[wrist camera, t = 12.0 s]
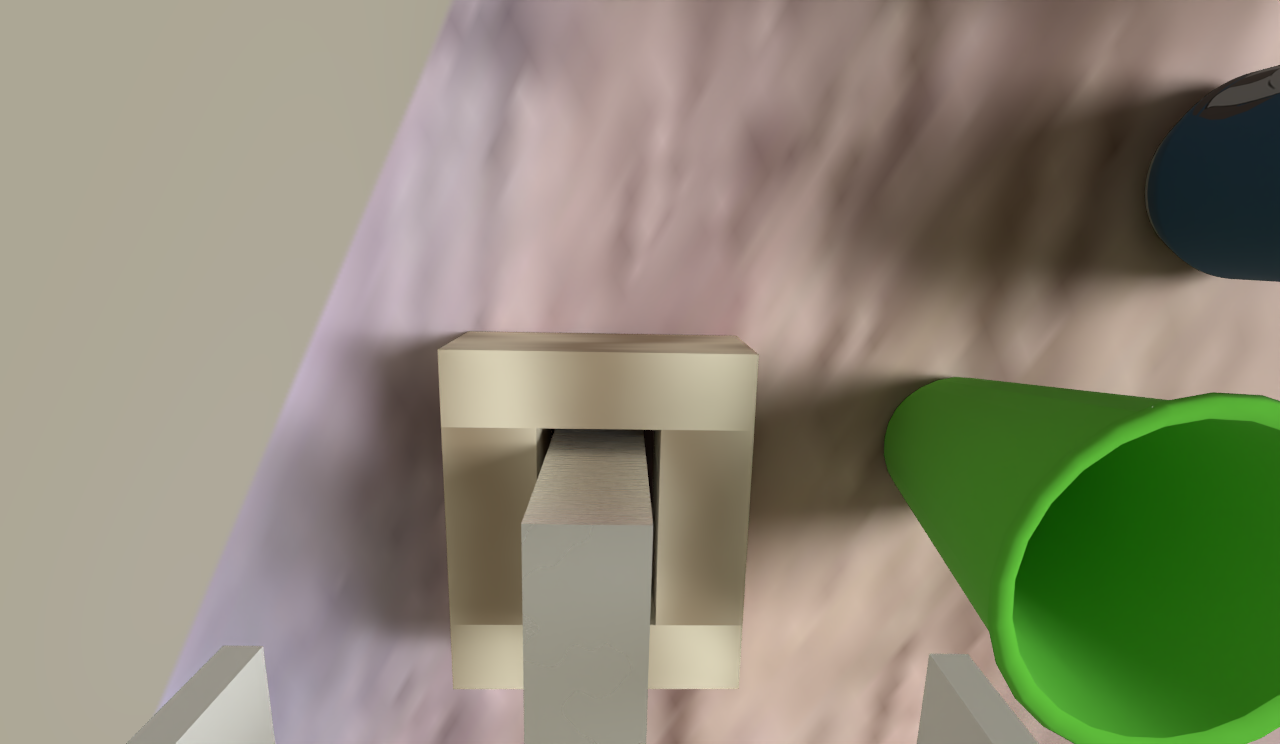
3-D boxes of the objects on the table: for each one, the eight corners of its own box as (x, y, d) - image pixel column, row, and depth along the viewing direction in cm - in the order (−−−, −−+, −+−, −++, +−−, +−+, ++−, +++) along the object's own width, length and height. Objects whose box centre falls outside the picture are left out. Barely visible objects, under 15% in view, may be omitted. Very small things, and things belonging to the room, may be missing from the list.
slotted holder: (736, 335, 24) (758, 354, 20) (721, 621, 26) (738, 688, 22) (468, 331, 23) (437, 349, 19) (479, 621, 26) (453, 689, 22)
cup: (860, 571, 26) (1031, 810, 15) (807, 365, 24) (959, 467, 13) (1074, 509, 25) (1407, 706, 15) (1037, 295, 24) (1388, 340, 13)
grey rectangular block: (640, 409, 24) (653, 525, 14) (637, 552, 25) (645, 749, 15) (562, 408, 24) (521, 523, 14) (562, 552, 25) (524, 749, 15)
